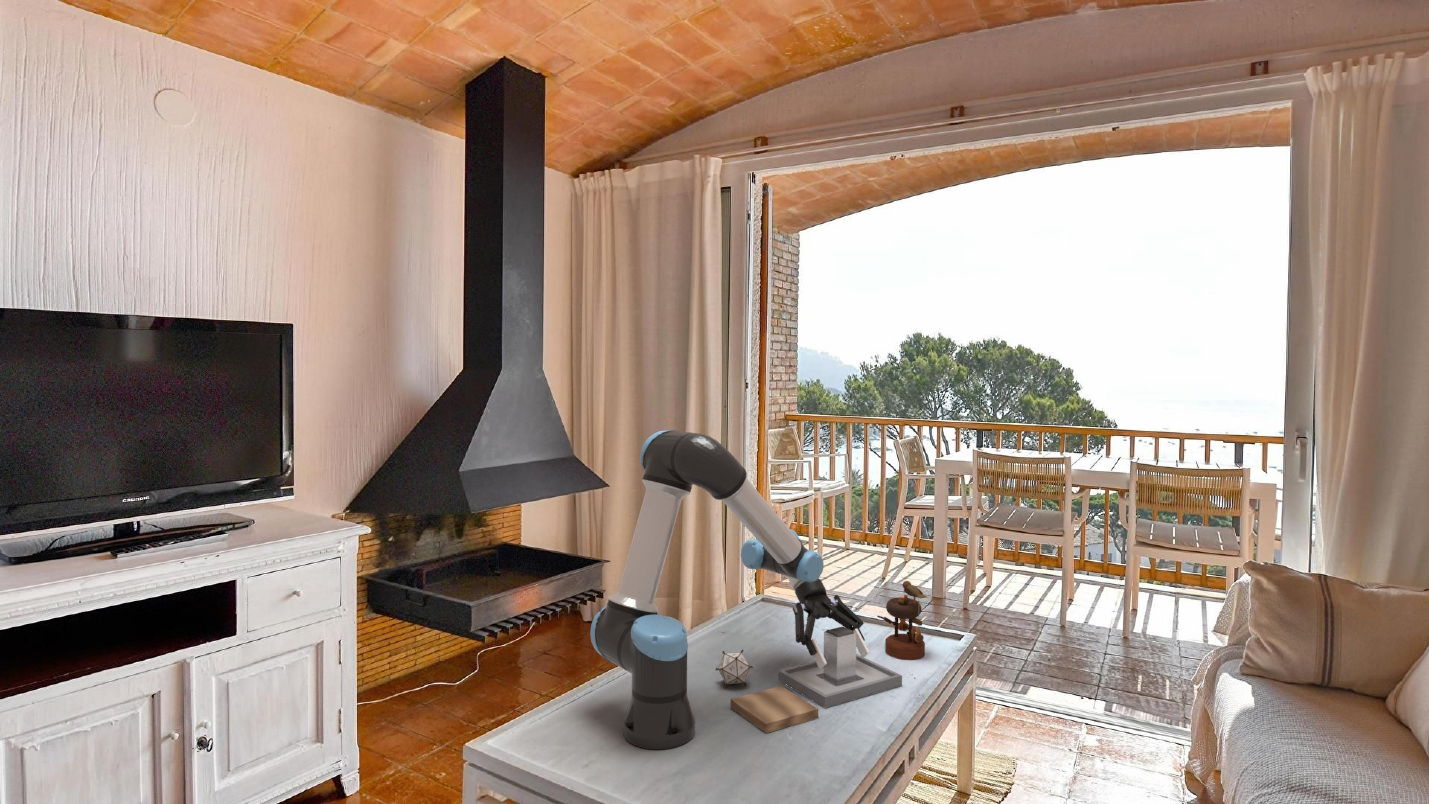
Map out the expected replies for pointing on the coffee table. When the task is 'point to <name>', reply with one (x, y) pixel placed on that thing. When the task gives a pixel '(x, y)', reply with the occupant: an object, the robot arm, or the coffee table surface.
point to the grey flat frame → (825, 694)
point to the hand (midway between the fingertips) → (845, 660)
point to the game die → (734, 668)
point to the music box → (905, 625)
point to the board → (774, 709)
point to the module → (840, 656)
